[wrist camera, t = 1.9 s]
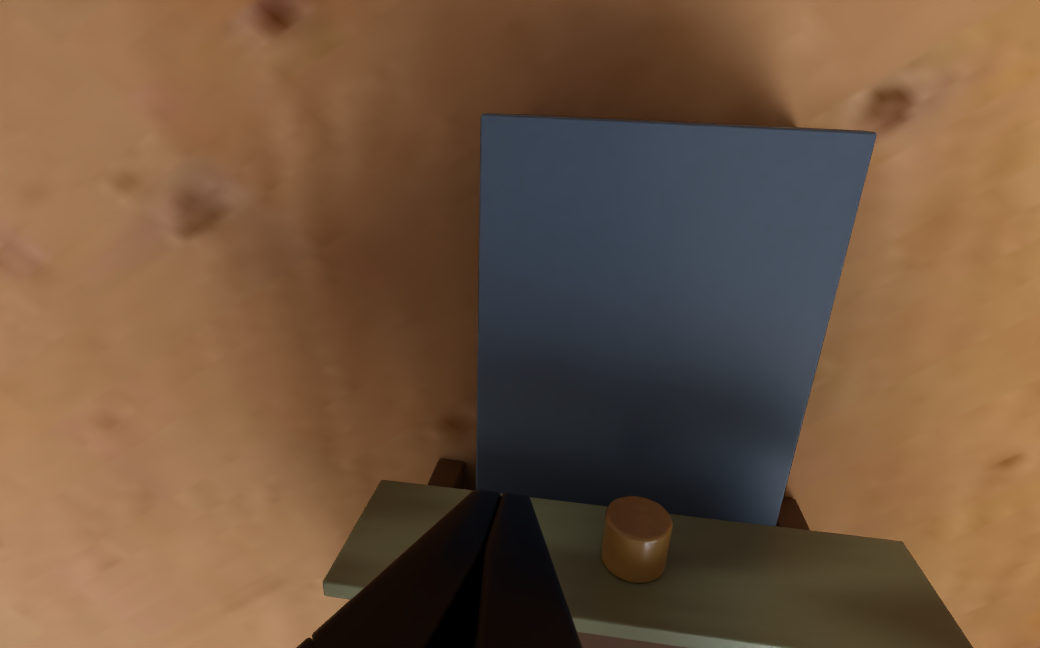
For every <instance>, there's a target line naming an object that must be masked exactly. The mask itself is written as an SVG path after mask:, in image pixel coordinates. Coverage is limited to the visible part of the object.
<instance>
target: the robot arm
mask: <svg viewBox="0 0 1040 648" xmlns="http://www.w3.org/2000/svg"><path fill="white" fill-rule="evenodd" d="M297 648H583V647H582V644H581V641H580V639H579V636H578V633H577V630H576V627H575V624H574V622H573V619H572V616H571V613H570V610H569V607H568V604H567V602H566V599H565V596H564V593H563V590H562V587H561V585H560V582H559V579H558V576H557V573H556V570H555V567H554V565H553V562H552V559H551V556H550V553H549V550H548V548H547V545H546V542H545V539H544V536H543V533H542V530H541V528H540V525H539V522H538V519H537V516H536V513H535V511H534V508H533V505H532V502H531V499H530V498H529V496H527V495H523V494H514V493H504V494H502V496H501V495H500V493H499V492H497V491H489V490H481V489H475V490H473V491H472V492H470V493H469V494H468V495H467V496H466V497H465V498H464V499H463V500H462V501H460V502H459V503H458V504H457V505H456V506H455V507H454V508H453V509H451V510H450V511H449V512H448V513H447V514H446V515H445V516H444V517H443V518H441V519H440V520H439V521H438V522H437V523H436V524H435V525H434V526H432V527H431V528H430V529H429V530H428V531H427V532H426V533H425V534H423V535H422V536H421V537H420V538H419V539H418V540H417V541H416V542H415V543H413V544H412V545H411V546H410V547H409V548H408V549H407V550H406V551H404V552H403V553H402V554H401V555H400V556H399V557H398V558H397V559H396V560H394V561H393V562H392V563H391V564H390V565H389V566H388V567H387V568H385V569H384V570H383V571H382V572H381V573H380V574H379V575H378V576H377V577H375V578H374V579H373V580H372V581H371V582H370V583H369V584H368V585H366V586H365V587H364V588H363V589H362V590H361V591H360V592H359V593H357V594H356V595H355V596H354V597H353V598H352V599H351V600H350V601H349V602H347V603H346V604H345V605H344V606H343V607H342V608H341V609H340V610H338V611H337V612H336V613H335V614H334V615H333V616H332V617H331V618H330V619H328V620H327V621H326V622H325V623H324V624H323V625H322V626H321V627H319V628H318V629H317V630H316V631H315V632H314V633H313V634H312V639H311V638H307V639H306V640H305V641H303V642H302V643H301V644H300V645H299V646H298V647H297Z"/></svg>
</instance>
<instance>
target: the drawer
mask: <svg viewBox="0 0 1040 648" xmlns="http://www.w3.org/2000/svg"><path fill="white" fill-rule="evenodd" d="M472 491H473V490H464V489H456V488H448V487H439V486H431V485H422V484H414V483H406V482H397V481H389V480H381V481H380V483H379V485H378V486H377V488H376V490H375V492H374V493H373V495H372V497H371V499H370V500H369V502H368V504H367V506H366V507H365V509H364V511H363V513H362V514H361V516H360V518H359V520H358V521H357V523H356V525H355V527H354V528H353V530H352V532H351V534H350V535H349V537H348V539H347V541H346V542H345V544H344V546H343V548H342V549H341V551H340V553H339V554H338V556H337V558H336V560H335V561H334V563H333V565H332V567H331V568H330V570H329V572H328V574H327V575H326V577H325V579H324V581H323V589H324V595H325V596H330V597H337V598H344V599H352V598H353V597H354V596H355V595H356V594H357V593H359V592H360V591H361V590H362V589H363V588H364V587H365V586H366V585H368V584H369V583H370V582H371V581H372V580H373V579H374V578H375V577H377V576H378V575H379V574H380V573H381V572H382V571H383V570H384V569H385V568H387V567H388V566H389V565H390V564H391V563H392V562H393V561H394V560H396V559H397V558H398V557H399V556H400V555H401V554H402V553H403V552H404V551H406V550H407V549H408V548H409V547H410V546H411V545H412V544H413V543H415V542H416V541H417V540H418V539H419V538H420V537H421V536H422V535H423V534H425V533H426V532H427V531H428V530H429V529H430V528H431V527H432V526H434V525H435V524H436V523H437V522H438V521H439V520H440V519H441V518H443V517H444V516H445V515H446V514H447V513H448V512H449V511H450V510H451V509H453V508H454V507H455V506H456V505H457V504H458V503H459V502H460V501H462V500H463V499H464V498H465V497H466V496H467V495H468V494H469V493H470V492H472ZM500 495H501V496H502V494H500ZM529 498H530V499H531V502H532V505H533V508H534V511H535V513H536V516H537V519H538V522H539V525H540V528H541V530H542V533H543V536H544V539H545V542H546V545H547V548H548V550H549V553H550V556H551V559H552V562H553V565H554V567H555V570H556V573H557V576H558V579H559V582H560V585H561V587H562V590H563V593H564V596H565V599H566V602H567V604H568V607H569V610H570V613H571V616H572V619H573V622H574V624H575V627H576V630H577V633H578V636H579V639H580V641H581V644H582V647H583V648H973V647H972V645H971V644H970V642H969V641H968V639H967V638H966V636H965V635H964V633H963V632H962V630H961V629H960V627H959V626H958V624H957V623H956V621H955V620H954V618H953V617H952V615H951V614H950V612H949V611H948V609H947V608H946V606H945V605H944V603H943V602H942V600H941V599H940V597H939V596H938V594H937V593H936V591H935V590H934V588H933V587H932V585H931V584H930V582H929V581H928V579H927V578H926V576H925V575H924V573H923V572H922V570H921V569H920V567H919V566H918V564H917V563H916V561H915V560H914V558H913V557H912V555H911V554H910V552H909V551H908V549H907V548H906V546H905V545H904V543H903V542H901V541H894V540H886V539H877V538H869V537H860V536H852V535H844V534H835V533H827V532H818V531H810V530H801V529H793V528H785V527H776V526H768V525H759V524H751V523H743V522H734V521H726V520H717V519H709V518H700V517H692V516H684V515H675V514H669V513H668V512H667V510H666V509H665V508H664V507H663V506H661V505H660V504H658V503H657V502H655V501H653V500H651V499H648V498H645V497H640V496H624V497H620V498H617V499H615V500H614V501H612V502H611V503H610V505H609V506H599V505H591V504H582V503H574V502H566V501H557V500H549V499H540V498H532V497H529Z"/></svg>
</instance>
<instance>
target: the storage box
mask: <svg viewBox="0 0 1040 648" xmlns="http://www.w3.org/2000/svg"><path fill="white" fill-rule="evenodd" d="M875 139H876V133H875V132H870V131H860V130H839V129H817V128H799V127H780V126H759V125H738V124H716V123H695V122H674V121H652V120H631V119H610V118H589V117H567V116H546V115H525V114H498V113H484V114H481V128H480V207H479V286H478V365H477V444H476V489H481V490H489V491H497V492H499V493H500V494H504V493H514V494H523V495H527V496H529V497H532V498H540V499H549V500H557V501H566V502H574V503H582V504H591V505H599V506H609V505H610V503H611V502H612V501H614V500H615V499H617V498H620V497H624V496H640V497H645V498H648V499H651V500H653V501H655V502H657V503H658V504H660V505H661V506H663V507H664V508H665V509H666V510H667V512H668V513H669V514H675V515H684V516H692V517H700V518H709V519H717V520H726V521H734V522H743V523H751V524H759V525H768V526H776V523H777V519H778V515H779V511H780V507H781V504H782V500H783V496H784V492H785V488H786V484H787V480H788V476H789V473H790V469H791V465H792V461H793V457H794V453H795V449H796V445H797V442H798V438H799V434H800V430H801V426H802V422H803V418H804V414H805V411H806V407H807V403H808V399H809V395H810V391H811V387H812V383H813V380H814V376H815V372H816V368H817V364H818V360H819V356H820V352H821V349H822V345H823V341H824V337H825V333H826V329H827V325H828V321H829V318H830V314H831V310H832V306H833V302H834V298H835V294H836V290H837V286H838V283H839V279H840V275H841V271H842V267H843V263H844V259H845V255H846V252H847V248H848V244H849V240H850V236H851V232H852V228H853V224H854V221H855V217H856V213H857V209H858V205H859V201H860V197H861V193H862V190H863V186H864V182H865V178H866V174H867V170H868V166H869V162H870V159H871V155H872V151H873V147H874V143H875Z"/></svg>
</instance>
